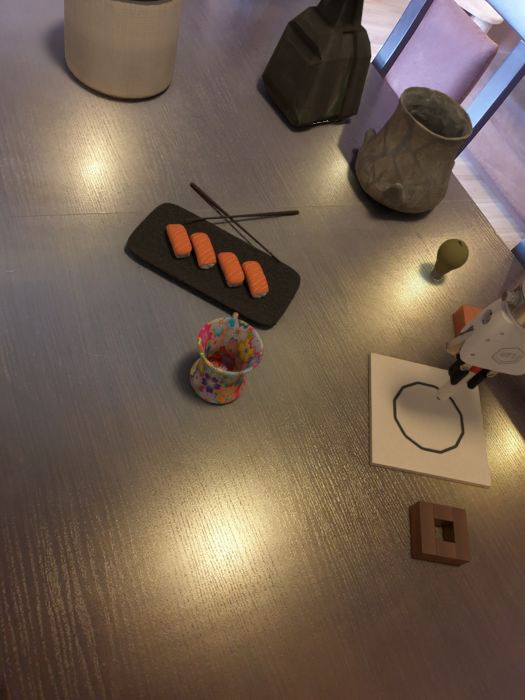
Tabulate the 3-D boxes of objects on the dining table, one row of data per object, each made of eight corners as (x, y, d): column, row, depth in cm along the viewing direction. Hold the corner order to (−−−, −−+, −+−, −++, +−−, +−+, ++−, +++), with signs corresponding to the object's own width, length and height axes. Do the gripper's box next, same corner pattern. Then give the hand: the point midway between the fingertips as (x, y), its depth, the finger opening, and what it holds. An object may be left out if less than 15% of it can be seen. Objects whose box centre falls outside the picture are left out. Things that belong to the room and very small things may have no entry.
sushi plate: (118, 253, 94) (119, 237, 91) (203, 161, 112) (207, 145, 109) (270, 337, 93) (276, 324, 90) (332, 231, 111) (340, 217, 108)
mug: (241, 415, 84) (258, 381, 76) (180, 400, 83) (191, 364, 74) (252, 349, 91) (269, 311, 83) (196, 334, 90) (208, 295, 81)
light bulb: (415, 273, 110) (441, 239, 102) (431, 262, 113) (458, 228, 105) (436, 293, 109) (464, 259, 101) (451, 281, 112) (480, 248, 104)
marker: (444, 393, 91) (486, 355, 81) (445, 404, 90) (488, 367, 80) (432, 390, 91) (473, 352, 81) (433, 402, 90) (475, 364, 80)
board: (473, 379, 100) (477, 376, 99) (487, 488, 89) (492, 486, 88) (368, 355, 97) (371, 351, 96) (369, 464, 86) (372, 462, 85)
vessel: (392, 145, 131) (435, 65, 115) (453, 211, 124) (509, 136, 108) (321, 162, 121) (358, 77, 105) (383, 236, 114) (433, 157, 97)
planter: (185, 63, 127) (200, -32, 111) (153, 118, 115) (164, 19, 98) (90, 26, 125) (91, -76, 109) (46, 78, 113) (40, -29, 96)
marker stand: (454, 514, 85) (465, 509, 82) (459, 566, 81) (471, 561, 78) (409, 506, 84) (419, 500, 81) (412, 557, 80) (422, 553, 77)
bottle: (317, 80, 137) (367, -56, 113) (354, 124, 132) (416, -9, 107) (255, 88, 129) (295, -57, 105) (292, 136, 123) (344, -6, 99)
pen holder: (487, 323, 108) (498, 313, 105) (492, 355, 104) (504, 346, 101) (452, 315, 107) (462, 304, 104) (456, 347, 103) (467, 336, 100)
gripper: (485, 317, 67) (412, 389, 82) (602, 347, 69) (511, 411, 84) (478, 270, 71) (410, 346, 86) (588, 299, 73) (504, 369, 89)
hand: (460, 378), depth 85 cm, fingers closed on marker, 2 cm apart
